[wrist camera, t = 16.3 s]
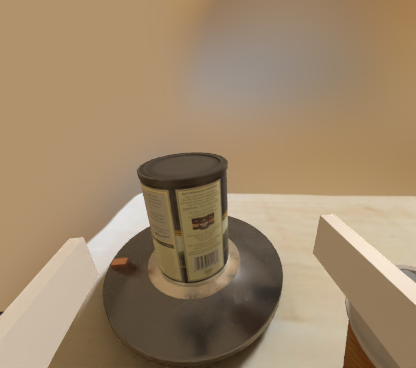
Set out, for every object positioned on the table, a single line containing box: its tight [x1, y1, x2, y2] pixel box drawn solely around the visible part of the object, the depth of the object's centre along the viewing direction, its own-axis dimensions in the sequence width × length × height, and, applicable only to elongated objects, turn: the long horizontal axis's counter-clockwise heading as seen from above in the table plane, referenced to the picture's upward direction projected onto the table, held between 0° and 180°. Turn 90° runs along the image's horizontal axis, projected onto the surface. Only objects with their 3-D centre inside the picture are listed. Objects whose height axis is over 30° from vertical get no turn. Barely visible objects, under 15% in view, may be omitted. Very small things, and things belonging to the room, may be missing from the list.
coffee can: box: [137, 153, 229, 287], centre depth 26 cm, size 10×10×14 cm
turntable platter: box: [103, 216, 283, 367], centre depth 29 cm, size 24×24×2 cm
